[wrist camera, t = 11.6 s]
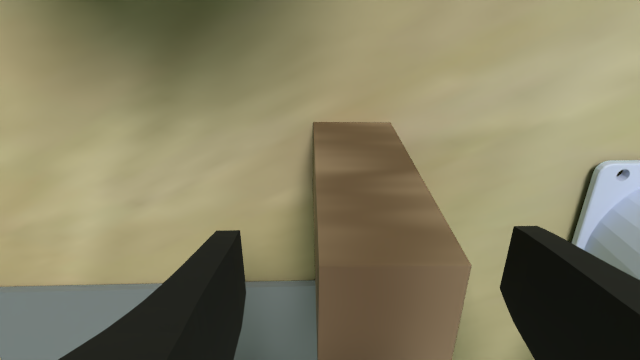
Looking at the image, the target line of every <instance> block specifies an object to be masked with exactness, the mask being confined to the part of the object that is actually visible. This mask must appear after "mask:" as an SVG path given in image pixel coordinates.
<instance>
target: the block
mask: <svg viewBox="0 0 640 360" xmlns="http://www.w3.org/2000/svg"><path fill="white" fill-rule="evenodd" d="M313 208H314V247H315V287H316V327H317V360H452V356H453V352H454V347H455V342H456V337H457V332H458V328H459V323H460V318H461V313H462V309H463V304H464V299H465V294H466V289H467V285H468V280H469V275H470V270H471V264H470V262H469V260H468V259H467V257H466V255H465V253H464V252H463V250H462V248H461V246H460V244H459V243H458V241H457V239H456V237H455V236H454V234H453V232H452V230H451V229H450V227H449V225H448V223H447V222H446V220H445V218H444V216H443V214H442V213H441V211H440V209H439V207H438V206H437V204H436V202H435V200H434V199H433V197H432V195H431V193H430V191H429V190H428V188H427V186H426V184H425V183H424V181H423V179H422V177H421V176H420V174H419V172H418V170H417V169H416V167H415V165H414V163H413V161H412V160H411V158H410V156H409V154H408V153H407V151H406V149H405V147H404V146H403V144H402V142H401V140H400V139H399V137H398V135H397V133H396V131H395V130H394V128H393V126H392V124H391V123H366V122H314V123H313Z"/></svg>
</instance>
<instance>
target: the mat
mask: <svg viewBox="0 0 640 360" xmlns="http://www.w3.org/2000/svg"><path fill="white" fill-rule="evenodd" d="M161 285H162V284H115V285H66V286H17V287H0V358H1V360H58V359H60V358H61V357H63V356H65V355H66V354H68V353H69V352H71V351H72V350H74V349H76V348H77V347H79V346H80V345H82V344H83V343H85V342H87V341H88V340H90V339H91V338H93V337H94V336H96V335H98V334H99V333H101V332H102V331H104V330H105V329H106V328H108V327H109V326H111V325H112V324H113V323H115V322H116V321H117V320H119V319H120V318H122V317H123V316H124V315H126V314H127V313H128V312H130V311H131V310H132V309H133V308H135V307H136V306H137V305H139V304H140V303H141V302H142V301H143V300H145V299H146V298H147V297H148V296H149V295H150V294H152V293H153V292H154V291H155V290H156V289H157V288H158V287H159V286H161ZM245 285H246V299H245V307H244V314H243V322H242V328H241V332H240V336H239V340H238V344H237V348H236V352H235V356H234V360H317V327H316V287H315V280H309V281H261V282H245Z"/></svg>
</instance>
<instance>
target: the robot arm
mask: <svg viewBox="0 0 640 360" xmlns="http://www.w3.org/2000/svg"><path fill="white" fill-rule="evenodd" d="M621 170H623V172H622V173H621V174H620V175H619V176H617V174H618V172H620V171H621ZM500 290H501V292H502V295H503V298H504V300H505V303H506V305H507V308H508V310H509V313H510V315H511V317H512V319H513V322H514V324H515V325H516V327H517V329H518V331H519V333H520V334H521V336H522V338H523V340H524V341H525V343H526V345H527V347H528V348H529V350H530V352H531V353H532V355H533V357H534V359H535V360H640V160H613V161H604V162H602V163H600V164H599V165H598V166H597V167H596V168H595V170H594V172H593V175H592V178H591V181H590V185H589V188H588V191H587V194H586V198H585V201H584V204H583V207H582V211H581V214H580V217H579V220H578V224H577V227H576V230H575V233H574V237H573V240H572V243H570V242H568V241H566V240H565V239H563V238H561V237H559V236H557V235H555V234H553V233H551V232H549V231H547V230H545V229H543V228H540V227H538V226H514V228H513V233H512V237H511V241H510V246H509V250H508V254H507V259H506V263H505V267H504V272H503V276H502V281H501V285H500ZM245 299H246V285H245V275H244V265H243V256H242V246H241V236H240V230H237V231H216V232H215V233H214V234H213V235H212V236H211V237H210V238H209V239H208V240H207V241H206V242H205V243H204V244H203V245H202V246H201V247H200V248H199V249H198V250H197V251H196V252H195V253H194V254H193V255H192V256H191V257H190V258H189V259H188V260H187V261H186V262H185V263H184V264H183V265H182V266H181V267H180V268H179V269H178V270H177V271H176V272H175V273H174V274H173V275H172V276H171V277H170V278H169V279H167V280H166V281H165V282H164V283H163V284H162V285H161V286H159V287H158V288H157V289H156V290H155V291H154V292H153V293H152V294H150V295H149V296H148V297H147V298H146V299H145V300H143V301H142V302H141V303H140V304H139V305H137V306H136V307H135V308H133V309H132V310H131V311H130V312H128V313H127V314H126V315H124V316H123V317H122V318H120V319H119V320H117V321H116V322H115V323H113V324H112V325H111V326H109V327H108V328H106V329H105V330H104V331H102V332H101V333H99V334H98V335H96V336H94V337H93V338H91V339H90V340H88V341H87V342H85V343H83V344H82V345H80V346H79V347H77V348H76V349H74V350H72V351H71V352H69V353H68V354H66V355H65V356H63V357H61V358H60V359H58V360H234V356H235V352H236V348H237V344H238V340H239V336H240V332H241V328H242V322H243V314H244V307H245Z"/></svg>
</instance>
